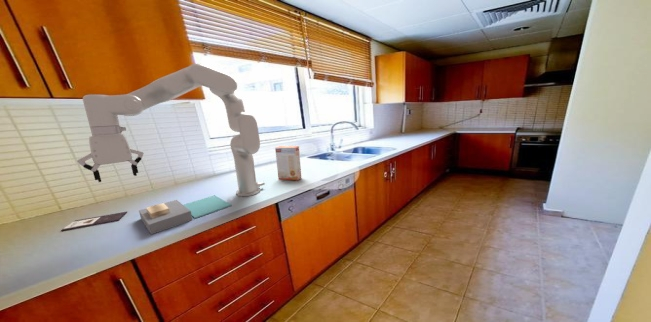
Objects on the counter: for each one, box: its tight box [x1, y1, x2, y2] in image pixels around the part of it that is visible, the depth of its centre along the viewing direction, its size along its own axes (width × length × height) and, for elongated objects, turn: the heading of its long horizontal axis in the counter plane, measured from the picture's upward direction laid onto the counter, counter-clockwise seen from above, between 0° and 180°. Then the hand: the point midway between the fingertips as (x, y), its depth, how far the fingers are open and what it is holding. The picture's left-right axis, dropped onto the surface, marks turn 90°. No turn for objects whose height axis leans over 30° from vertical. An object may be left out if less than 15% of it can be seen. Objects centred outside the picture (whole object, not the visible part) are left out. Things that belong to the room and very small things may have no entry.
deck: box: [138, 199, 193, 235], centre depth 94 cm, size 14×20×4 cm
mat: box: [183, 195, 233, 219], centre depth 105 cm, size 16×20×1 cm
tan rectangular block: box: [145, 202, 170, 218], centre depth 91 cm, size 6×9×2 cm, turn 48°
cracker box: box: [274, 145, 302, 181], centre depth 140 cm, size 14×6×21 cm, turn 69°
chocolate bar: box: [60, 211, 128, 232], centre depth 96 cm, size 9×1×18 cm
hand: (118, 178), depth 81 cm, fingers open, 9 cm apart
